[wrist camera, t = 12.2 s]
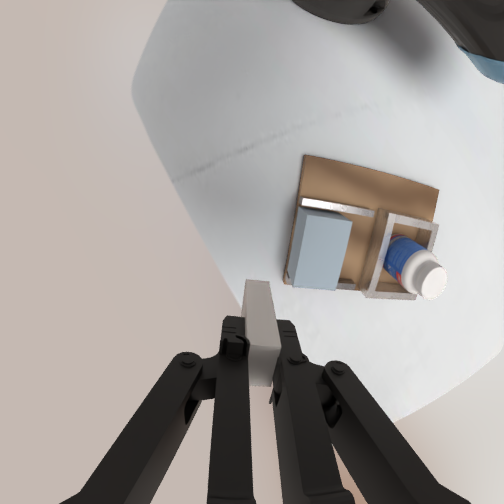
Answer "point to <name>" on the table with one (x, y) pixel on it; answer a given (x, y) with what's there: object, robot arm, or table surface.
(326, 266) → the block
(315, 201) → the rails
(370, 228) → the board
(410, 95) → the table surface
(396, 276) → the pill bottle
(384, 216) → the socket
